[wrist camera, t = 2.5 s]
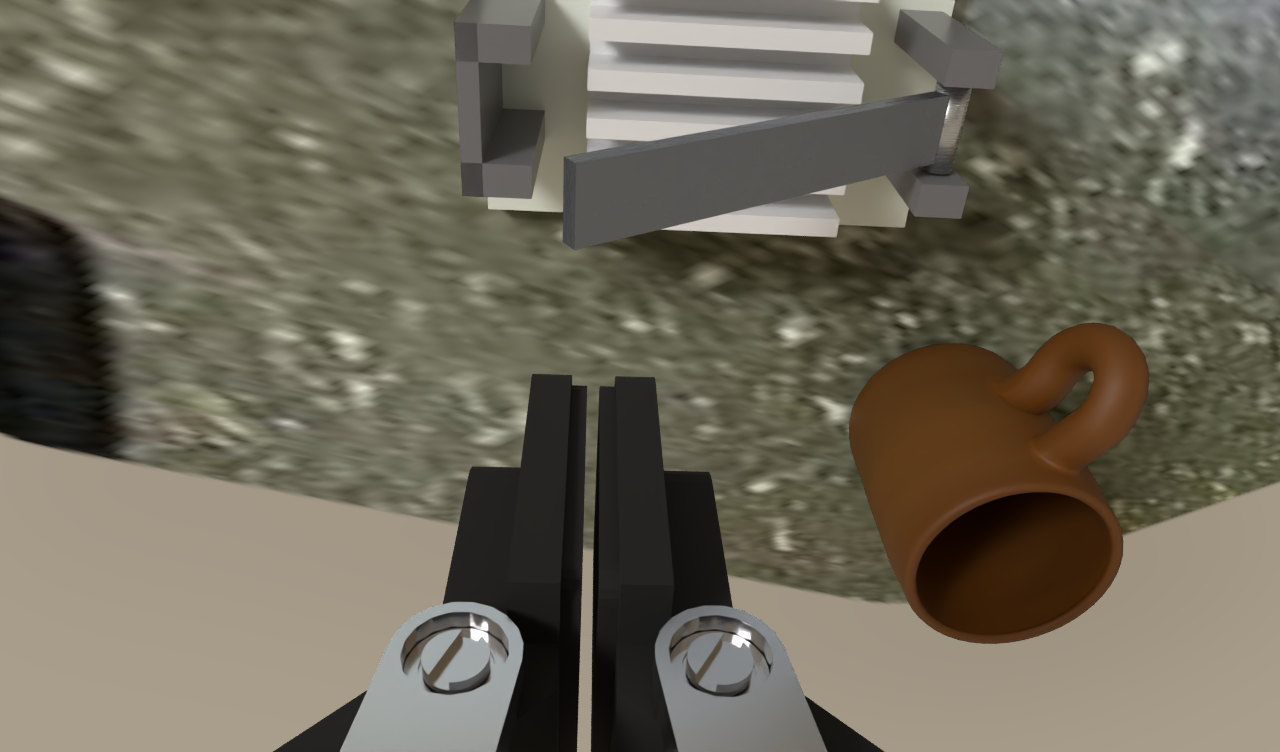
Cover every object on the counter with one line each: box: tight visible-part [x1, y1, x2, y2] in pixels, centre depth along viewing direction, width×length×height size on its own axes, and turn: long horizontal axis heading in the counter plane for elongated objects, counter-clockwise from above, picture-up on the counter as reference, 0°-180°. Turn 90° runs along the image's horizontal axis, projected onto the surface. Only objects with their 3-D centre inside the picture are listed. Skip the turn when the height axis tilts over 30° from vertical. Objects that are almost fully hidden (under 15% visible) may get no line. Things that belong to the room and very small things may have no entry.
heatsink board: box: [454, 0, 1004, 237], centre depth 29 cm, size 15×10×6 cm, turn 87°
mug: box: [849, 323, 1149, 644], centre depth 34 cm, size 12×8×9 cm, turn 160°
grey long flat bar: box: [563, 81, 972, 250], centre depth 24 cm, size 14×3×1 cm
